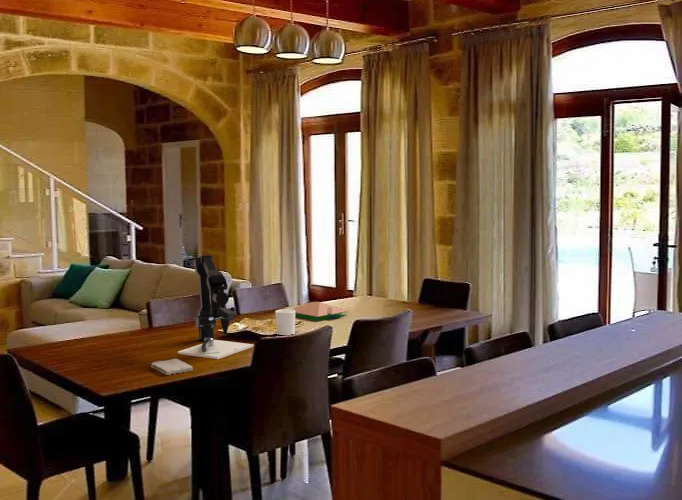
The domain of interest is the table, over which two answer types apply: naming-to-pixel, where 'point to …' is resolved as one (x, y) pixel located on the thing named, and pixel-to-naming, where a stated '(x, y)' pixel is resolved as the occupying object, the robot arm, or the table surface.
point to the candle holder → (285, 321)
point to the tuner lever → (207, 344)
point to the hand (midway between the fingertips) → (218, 336)
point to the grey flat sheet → (216, 349)
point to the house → (318, 310)
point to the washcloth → (172, 366)
